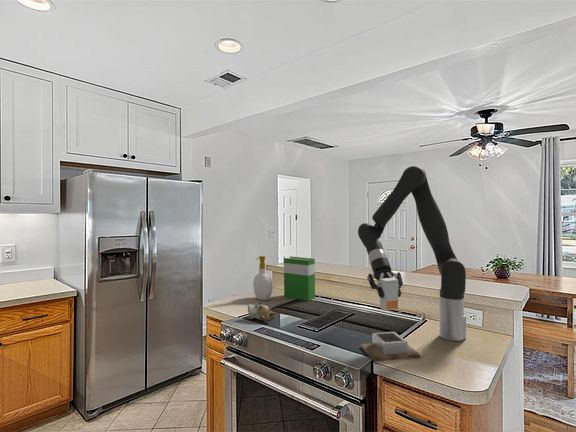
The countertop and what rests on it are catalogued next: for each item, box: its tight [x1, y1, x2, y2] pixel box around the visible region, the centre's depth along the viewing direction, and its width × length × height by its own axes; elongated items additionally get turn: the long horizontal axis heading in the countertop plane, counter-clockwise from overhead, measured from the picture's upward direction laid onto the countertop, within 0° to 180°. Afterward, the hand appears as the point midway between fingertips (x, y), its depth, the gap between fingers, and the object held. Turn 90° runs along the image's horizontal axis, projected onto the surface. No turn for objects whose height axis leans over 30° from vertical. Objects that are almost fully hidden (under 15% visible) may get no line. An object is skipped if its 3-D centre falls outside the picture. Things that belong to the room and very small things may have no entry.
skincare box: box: [379, 277, 399, 311], centre depth 139 cm, size 6×4×12 cm
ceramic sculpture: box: [247, 302, 280, 322], centre depth 173 cm, size 11×9×15 cm
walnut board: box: [360, 342, 421, 362], centre depth 133 cm, size 18×13×1 cm
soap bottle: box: [253, 255, 273, 301], centre depth 209 cm, size 14×9×26 cm, turn 47°
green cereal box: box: [283, 255, 316, 302], centre depth 212 cm, size 18×7×24 cm, turn 55°
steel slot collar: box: [371, 331, 408, 356], centre depth 133 cm, size 9×10×4 cm
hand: (390, 296), depth 137 cm, fingers closed on skincare box, 6 cm apart
